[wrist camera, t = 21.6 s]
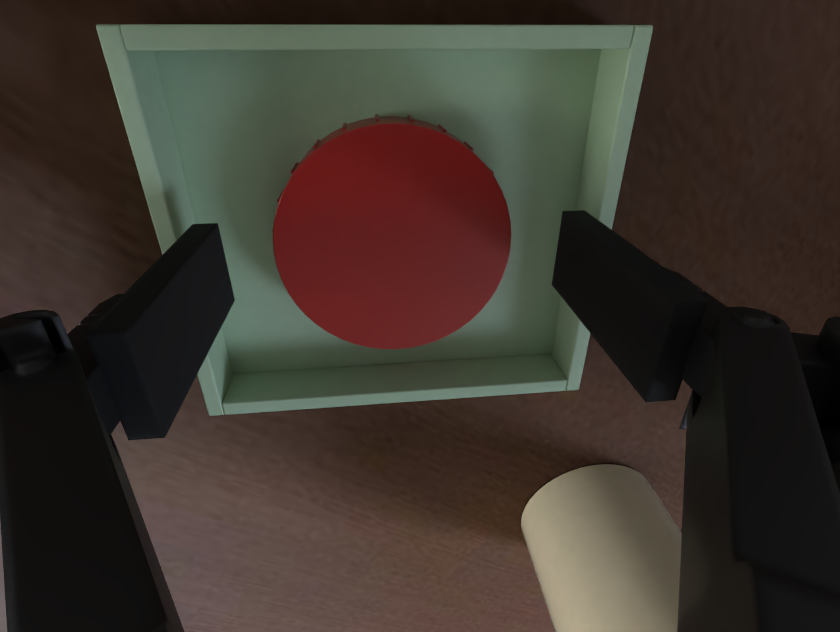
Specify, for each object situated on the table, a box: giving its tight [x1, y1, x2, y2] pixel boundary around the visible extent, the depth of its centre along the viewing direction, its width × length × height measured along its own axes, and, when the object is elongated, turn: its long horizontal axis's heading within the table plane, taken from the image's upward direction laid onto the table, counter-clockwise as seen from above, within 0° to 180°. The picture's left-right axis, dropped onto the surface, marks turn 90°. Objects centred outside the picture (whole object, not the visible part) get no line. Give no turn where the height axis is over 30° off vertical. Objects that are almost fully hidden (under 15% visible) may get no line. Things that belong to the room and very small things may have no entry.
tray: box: [96, 24, 653, 416], centre depth 17 cm, size 15×13×2 cm
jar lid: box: [272, 114, 511, 349], centre depth 17 cm, size 8×8×2 cm
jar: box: [521, 464, 682, 632], centre depth 24 cm, size 8×8×10 cm
